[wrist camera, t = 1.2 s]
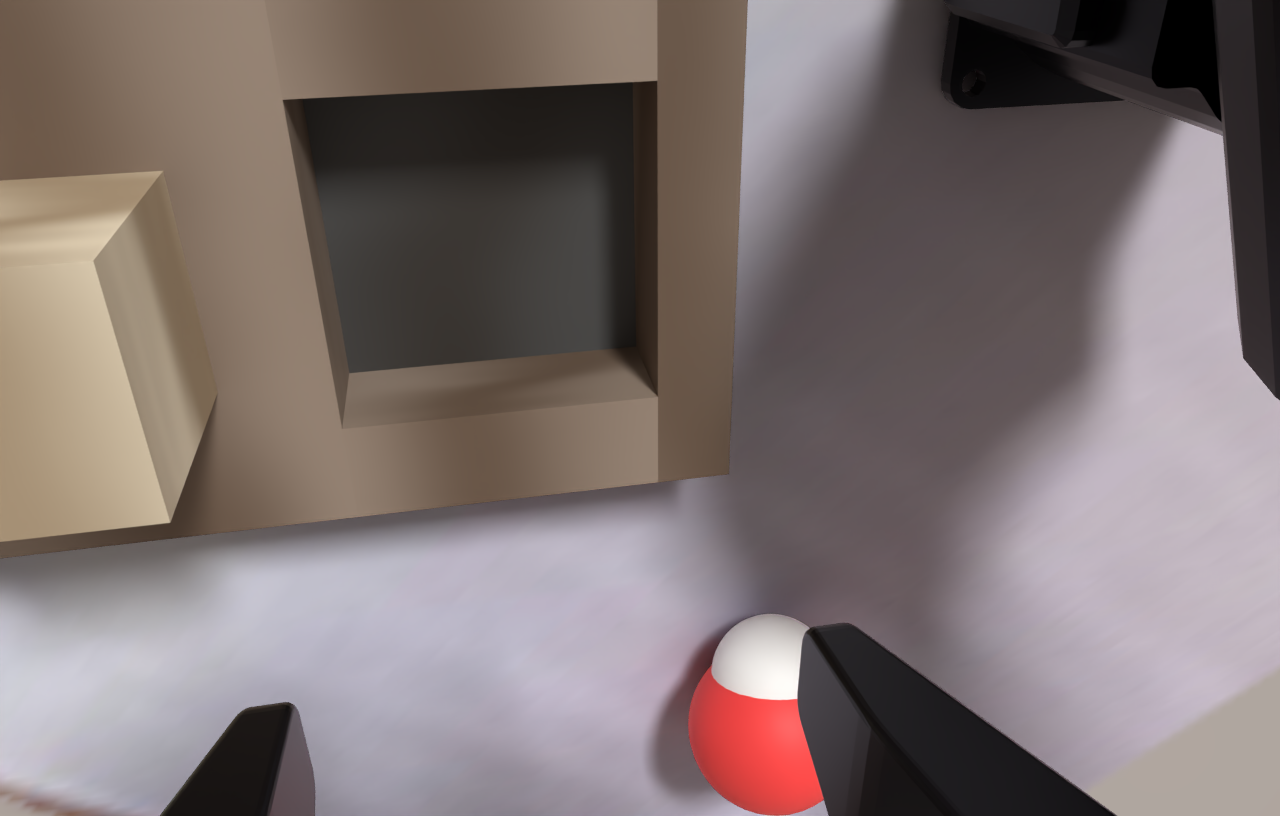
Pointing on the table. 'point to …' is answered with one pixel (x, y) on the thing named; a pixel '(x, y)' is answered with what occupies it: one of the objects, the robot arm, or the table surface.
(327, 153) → the trap box
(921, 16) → the table surface
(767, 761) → the molecule
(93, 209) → the block
